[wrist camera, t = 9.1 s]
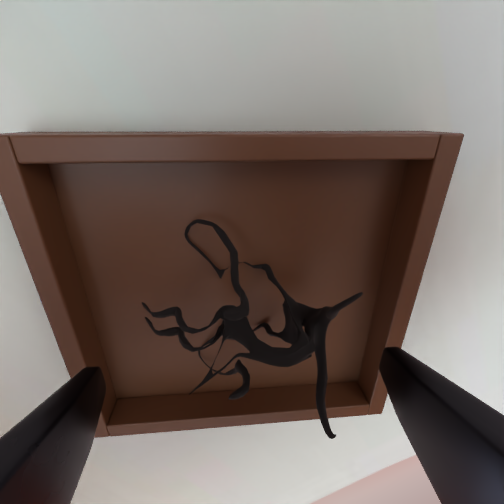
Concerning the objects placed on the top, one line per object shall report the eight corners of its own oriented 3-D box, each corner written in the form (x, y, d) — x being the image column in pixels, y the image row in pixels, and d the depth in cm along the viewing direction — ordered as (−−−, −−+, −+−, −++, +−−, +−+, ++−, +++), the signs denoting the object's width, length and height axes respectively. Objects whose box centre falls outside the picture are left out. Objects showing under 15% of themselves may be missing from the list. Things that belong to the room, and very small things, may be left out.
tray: (108, 399, 16) (92, 438, 14) (24, 131, 10) (-23, 135, 8) (364, 380, 17) (382, 414, 15) (423, 130, 11) (465, 133, 9)
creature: (171, 351, 15) (323, 366, 14) (113, 459, 10) (338, 494, 9) (147, 208, 12) (344, 216, 11) (45, 271, 7) (385, 294, 6)
